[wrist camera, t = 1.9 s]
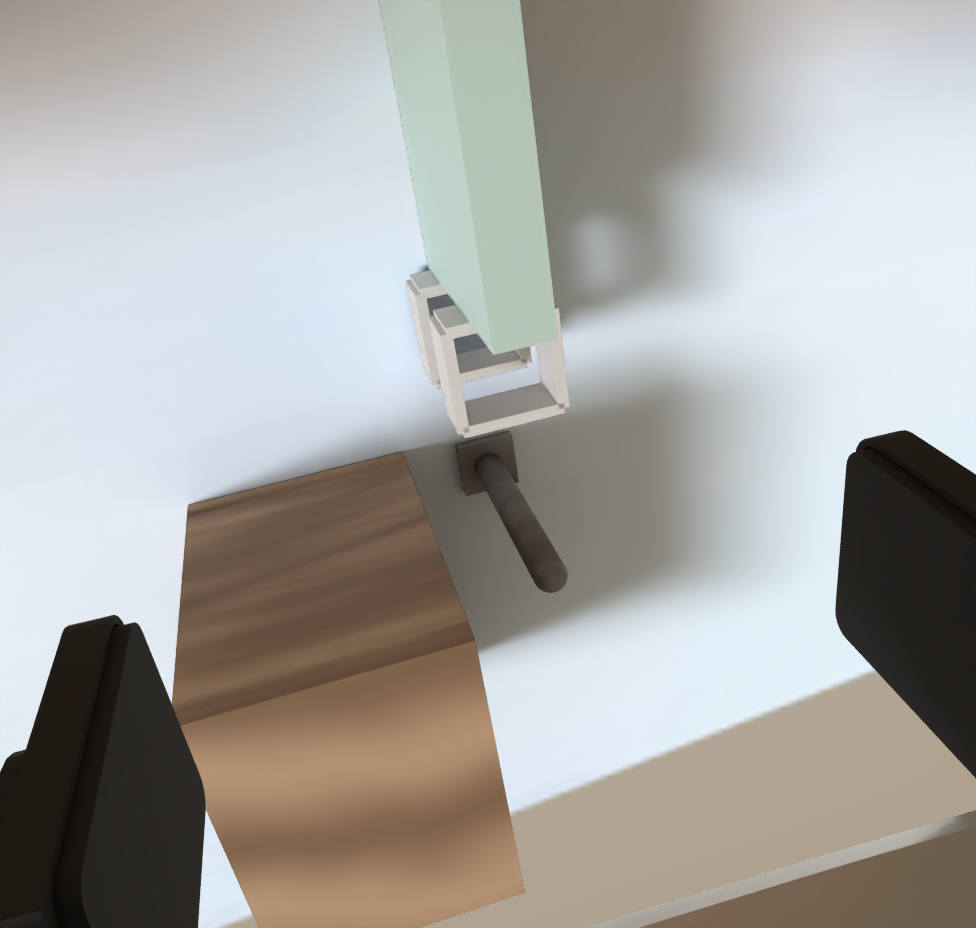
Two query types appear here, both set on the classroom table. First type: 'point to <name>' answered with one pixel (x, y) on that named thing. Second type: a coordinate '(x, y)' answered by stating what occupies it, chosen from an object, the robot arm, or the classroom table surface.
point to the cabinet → (348, 695)
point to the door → (476, 205)
